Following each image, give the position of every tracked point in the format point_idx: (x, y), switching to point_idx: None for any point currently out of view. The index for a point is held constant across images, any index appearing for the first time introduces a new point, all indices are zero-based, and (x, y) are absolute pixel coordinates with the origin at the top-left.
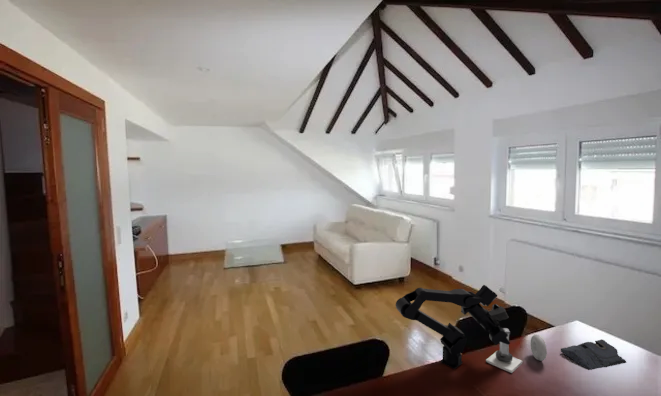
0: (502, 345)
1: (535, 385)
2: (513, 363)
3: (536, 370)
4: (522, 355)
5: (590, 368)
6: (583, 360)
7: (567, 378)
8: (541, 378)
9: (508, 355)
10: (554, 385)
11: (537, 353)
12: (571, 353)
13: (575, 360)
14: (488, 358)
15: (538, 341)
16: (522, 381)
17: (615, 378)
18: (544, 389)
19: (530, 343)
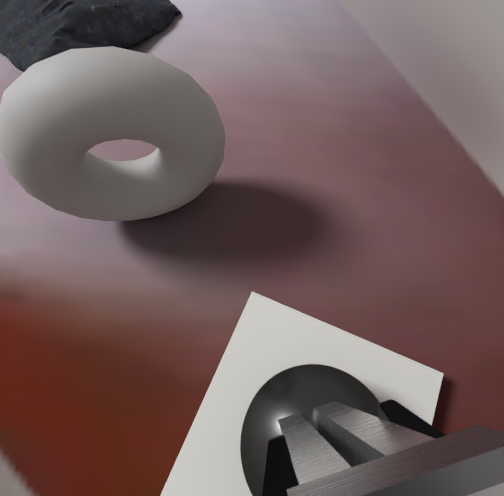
0: None
1: (485, 236)
2: (323, 356)
3: (304, 219)
4: (140, 288)
5: (173, 5)
6: (134, 2)
7: (309, 93)
8: (384, 201)
9: (336, 402)
10: (417, 149)
11: (205, 170)
12: (84, 28)
13: (130, 36)
14: None
15: (154, 93)
16: (493, 306)
17: None
18: (495, 196)
19: (54, 204)
